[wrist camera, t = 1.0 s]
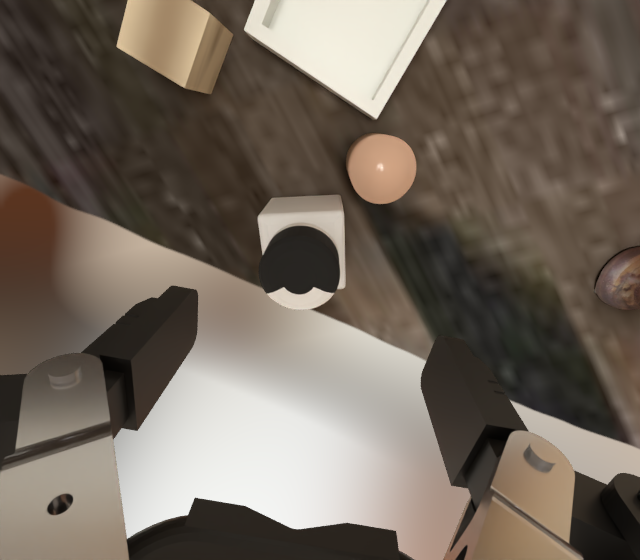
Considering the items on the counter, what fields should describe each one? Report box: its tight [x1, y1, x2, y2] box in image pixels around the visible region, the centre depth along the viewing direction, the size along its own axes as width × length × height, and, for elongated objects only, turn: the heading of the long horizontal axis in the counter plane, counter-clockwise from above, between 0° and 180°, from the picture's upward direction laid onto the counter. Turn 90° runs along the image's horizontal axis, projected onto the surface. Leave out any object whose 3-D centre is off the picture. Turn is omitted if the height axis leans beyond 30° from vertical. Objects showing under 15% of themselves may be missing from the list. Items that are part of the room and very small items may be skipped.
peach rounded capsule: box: [346, 133, 416, 204], centre depth 28 cm, size 5×5×7 cm
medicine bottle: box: [258, 195, 346, 310], centre depth 29 cm, size 7×7×12 cm
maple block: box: [117, 0, 233, 94], centre depth 25 cm, size 5×5×6 cm
